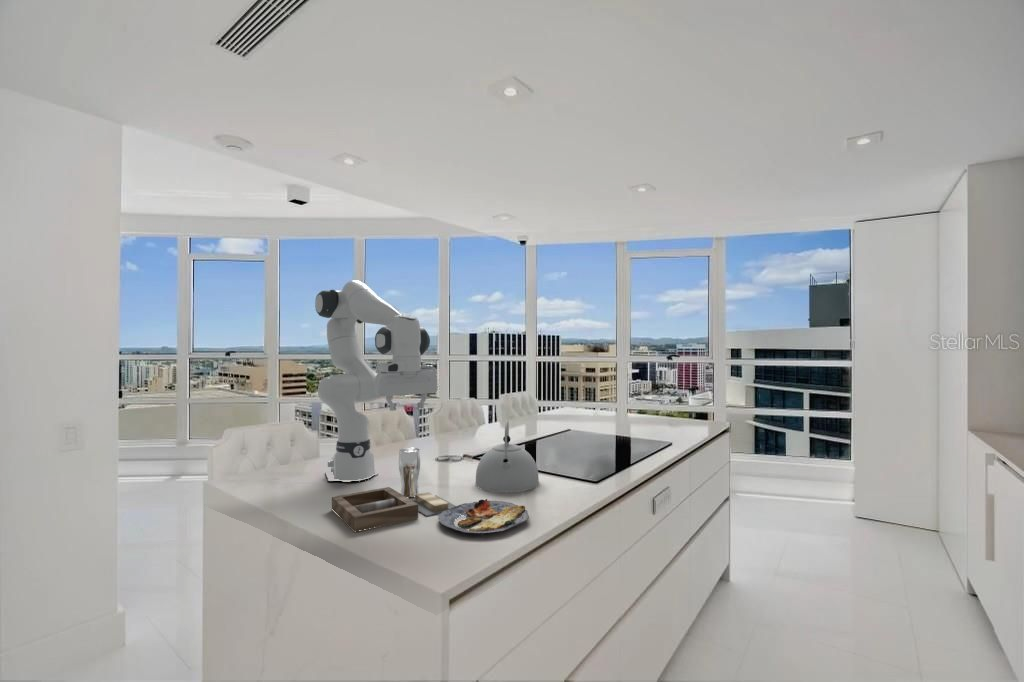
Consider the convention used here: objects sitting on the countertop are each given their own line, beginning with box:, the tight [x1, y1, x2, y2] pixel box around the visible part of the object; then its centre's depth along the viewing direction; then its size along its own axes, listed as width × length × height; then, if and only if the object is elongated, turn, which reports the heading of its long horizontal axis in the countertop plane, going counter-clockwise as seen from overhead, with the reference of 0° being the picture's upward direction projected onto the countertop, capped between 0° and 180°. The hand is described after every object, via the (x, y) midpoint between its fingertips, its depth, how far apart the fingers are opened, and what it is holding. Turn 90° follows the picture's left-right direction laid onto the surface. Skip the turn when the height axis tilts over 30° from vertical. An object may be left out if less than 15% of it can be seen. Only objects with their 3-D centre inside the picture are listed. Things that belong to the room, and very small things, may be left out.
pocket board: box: [331, 486, 419, 532], centre depth 145 cm, size 22×18×4 cm
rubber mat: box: [411, 494, 457, 518], centre depth 152 cm, size 16×11×1 cm
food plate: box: [437, 498, 530, 535], centre depth 138 cm, size 25×23×4 cm
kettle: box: [475, 419, 540, 493], centre depth 176 cm, size 25×23×22 cm
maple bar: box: [414, 491, 448, 512], centre depth 152 cm, size 14×4×2 cm, turn 35°
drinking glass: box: [398, 447, 421, 498], centre depth 163 cm, size 7×7×15 cm
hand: (407, 409), depth 157 cm, fingers open, 8 cm apart
